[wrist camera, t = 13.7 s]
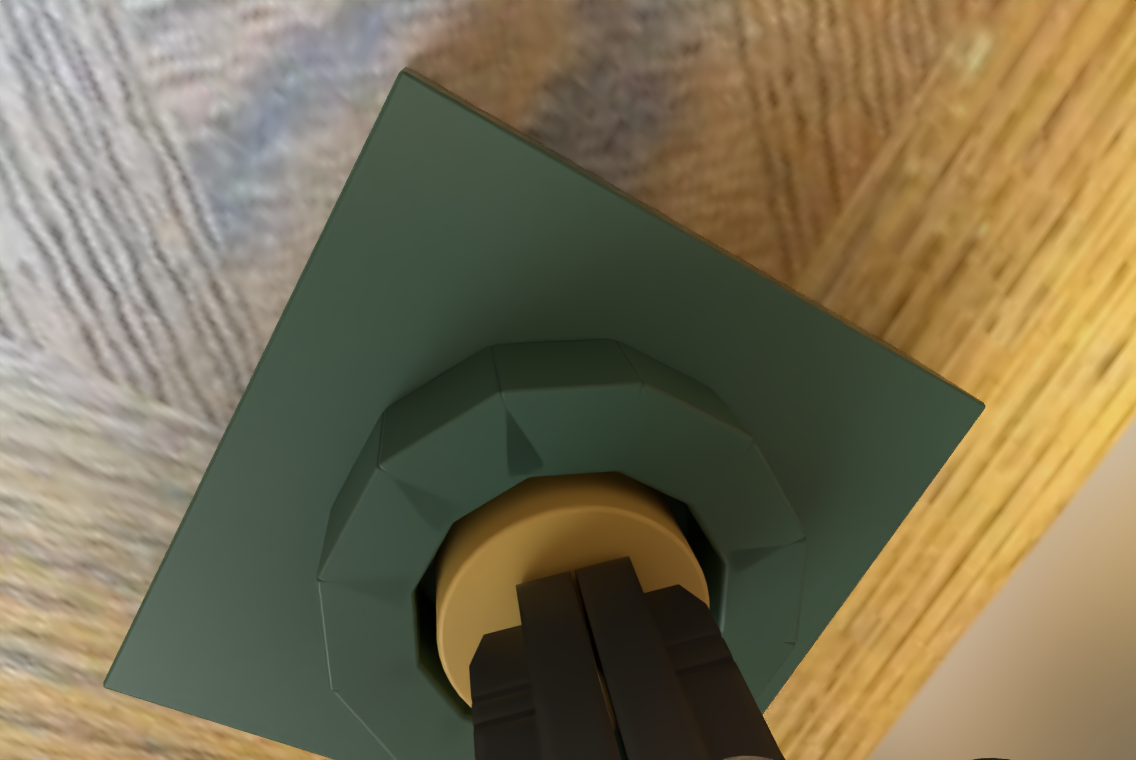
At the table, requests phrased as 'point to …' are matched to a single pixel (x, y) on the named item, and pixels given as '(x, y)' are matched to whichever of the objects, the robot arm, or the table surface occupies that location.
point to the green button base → (515, 436)
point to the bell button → (549, 553)
